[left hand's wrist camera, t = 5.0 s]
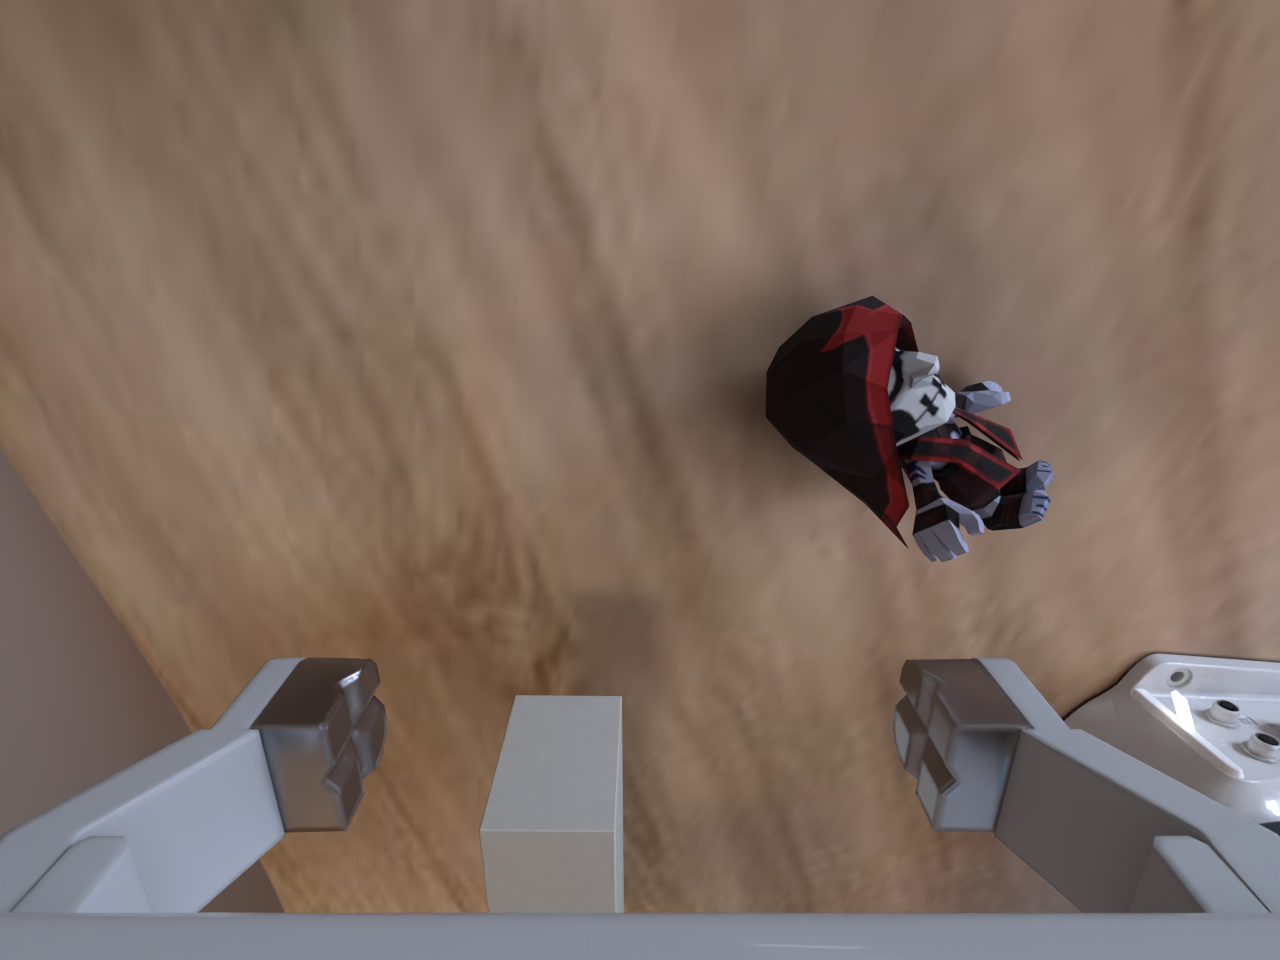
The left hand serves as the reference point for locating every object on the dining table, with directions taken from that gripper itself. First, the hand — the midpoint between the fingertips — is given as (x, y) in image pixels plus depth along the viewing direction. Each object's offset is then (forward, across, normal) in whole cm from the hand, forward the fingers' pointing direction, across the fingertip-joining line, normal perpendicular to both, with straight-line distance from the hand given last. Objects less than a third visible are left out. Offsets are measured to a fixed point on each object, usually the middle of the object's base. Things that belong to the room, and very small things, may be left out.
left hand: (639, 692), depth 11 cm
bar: (+19, -4, -27) cm, 33 cm away
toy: (+31, +14, -4) cm, 34 cm away
